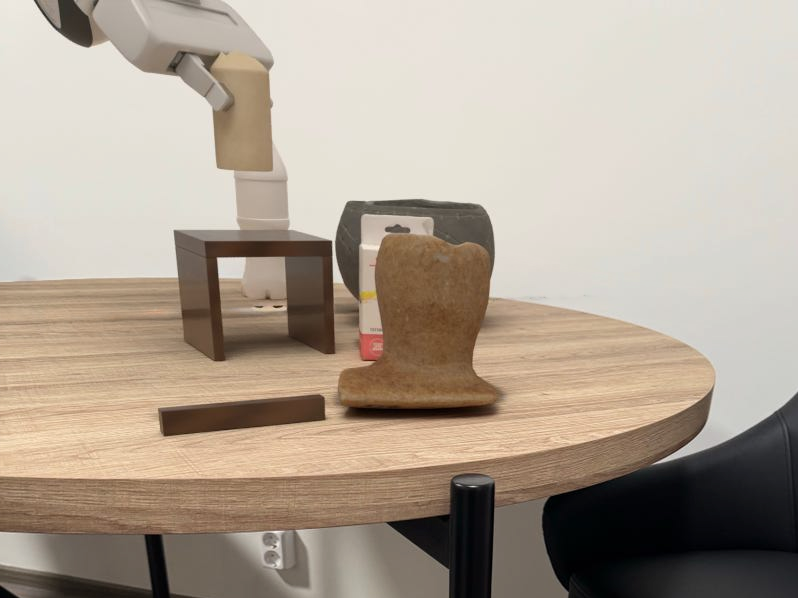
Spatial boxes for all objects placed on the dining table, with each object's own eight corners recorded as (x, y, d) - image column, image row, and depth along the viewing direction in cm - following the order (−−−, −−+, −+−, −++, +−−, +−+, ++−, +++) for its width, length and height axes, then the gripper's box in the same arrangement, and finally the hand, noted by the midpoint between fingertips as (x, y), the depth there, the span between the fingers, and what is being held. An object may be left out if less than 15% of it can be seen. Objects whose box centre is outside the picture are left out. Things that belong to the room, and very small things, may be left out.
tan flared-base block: (481, 389, 96) (488, 229, 89) (507, 420, 85) (517, 241, 78) (330, 389, 93) (326, 223, 86) (339, 421, 82) (334, 236, 75)
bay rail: (164, 435, 76) (161, 411, 75) (160, 432, 77) (157, 407, 76) (325, 419, 83) (324, 396, 82) (320, 416, 84) (319, 393, 83)
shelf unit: (214, 361, 101) (204, 241, 96) (184, 340, 110) (173, 229, 105) (335, 353, 108) (332, 240, 102) (297, 334, 117) (292, 229, 111)
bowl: (435, 345, 115) (438, 211, 108) (304, 323, 124) (299, 198, 117) (520, 324, 131) (527, 206, 124) (398, 306, 140) (399, 195, 133)
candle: (269, 172, 91) (264, 51, 87) (211, 169, 91) (203, 47, 86) (276, 170, 96) (271, 56, 91) (221, 167, 96) (213, 52, 91)
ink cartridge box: (361, 361, 105) (360, 217, 98) (358, 352, 109) (357, 213, 102) (437, 362, 106) (441, 220, 100) (432, 353, 111) (435, 216, 104)
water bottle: (242, 309, 132) (228, 104, 120) (242, 301, 138) (229, 105, 126) (294, 310, 133) (285, 107, 121) (292, 302, 139) (283, 108, 127)
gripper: (197, 26, 99) (283, 136, 101) (58, -3, 82) (164, 130, 84) (231, -25, 96) (319, 89, 98) (93, -67, 79) (203, 73, 81)
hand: (246, 108), depth 91 cm, fingers closed on candle, 5 cm apart
